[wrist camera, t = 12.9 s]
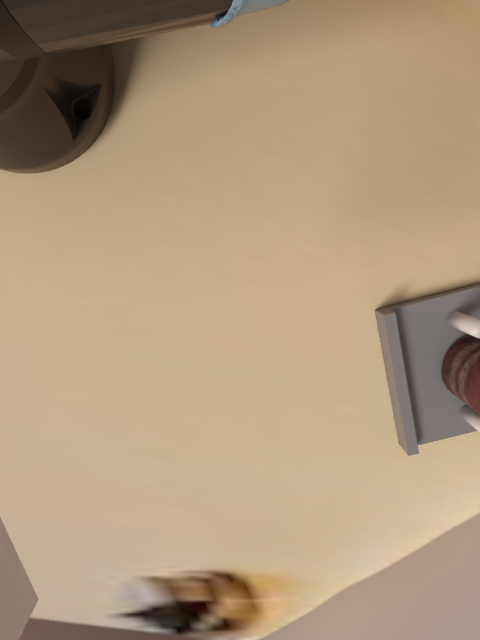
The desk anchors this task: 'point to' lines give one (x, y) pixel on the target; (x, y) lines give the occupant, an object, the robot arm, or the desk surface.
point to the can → (463, 371)
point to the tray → (427, 364)
